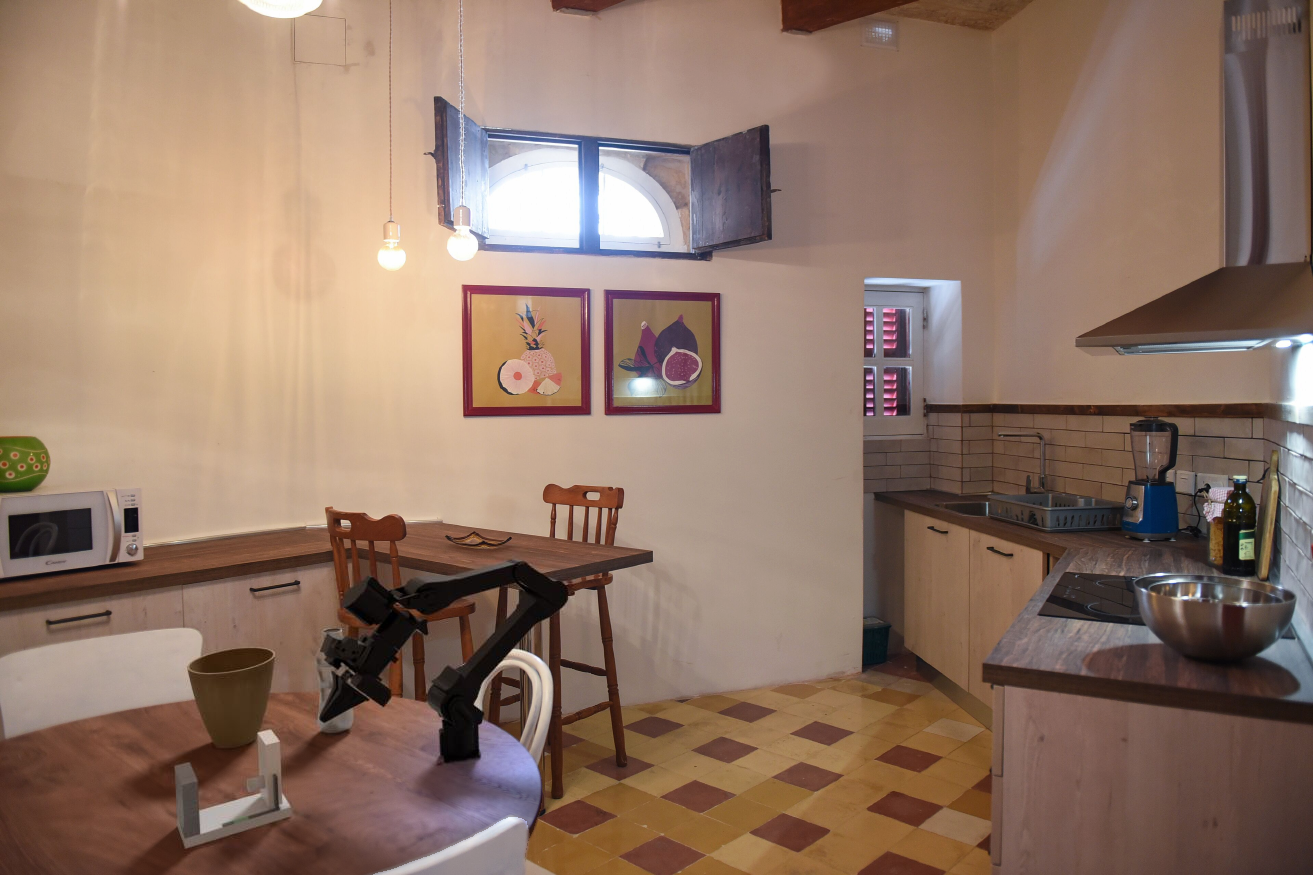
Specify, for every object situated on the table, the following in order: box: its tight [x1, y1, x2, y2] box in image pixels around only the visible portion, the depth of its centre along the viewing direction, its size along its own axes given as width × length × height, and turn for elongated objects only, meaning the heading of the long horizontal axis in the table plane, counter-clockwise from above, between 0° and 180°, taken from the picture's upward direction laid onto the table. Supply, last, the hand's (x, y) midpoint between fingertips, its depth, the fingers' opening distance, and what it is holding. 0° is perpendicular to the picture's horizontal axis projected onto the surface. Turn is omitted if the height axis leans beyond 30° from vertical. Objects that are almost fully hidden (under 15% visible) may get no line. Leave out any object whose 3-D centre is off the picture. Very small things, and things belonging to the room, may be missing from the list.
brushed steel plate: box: [174, 761, 200, 839], centre depth 122 cm, size 2×8×8 cm, turn 37°
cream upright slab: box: [246, 729, 283, 809], centre depth 128 cm, size 4×7×10 cm, turn 37°
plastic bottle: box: [314, 627, 355, 734], centre depth 160 cm, size 6×7×20 cm
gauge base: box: [176, 792, 292, 850], centre depth 126 cm, size 14×8×2 cm, turn 127°
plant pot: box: [186, 646, 276, 749], centre depth 156 cm, size 15×15×16 cm
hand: (321, 720), depth 134 cm, fingers closed
